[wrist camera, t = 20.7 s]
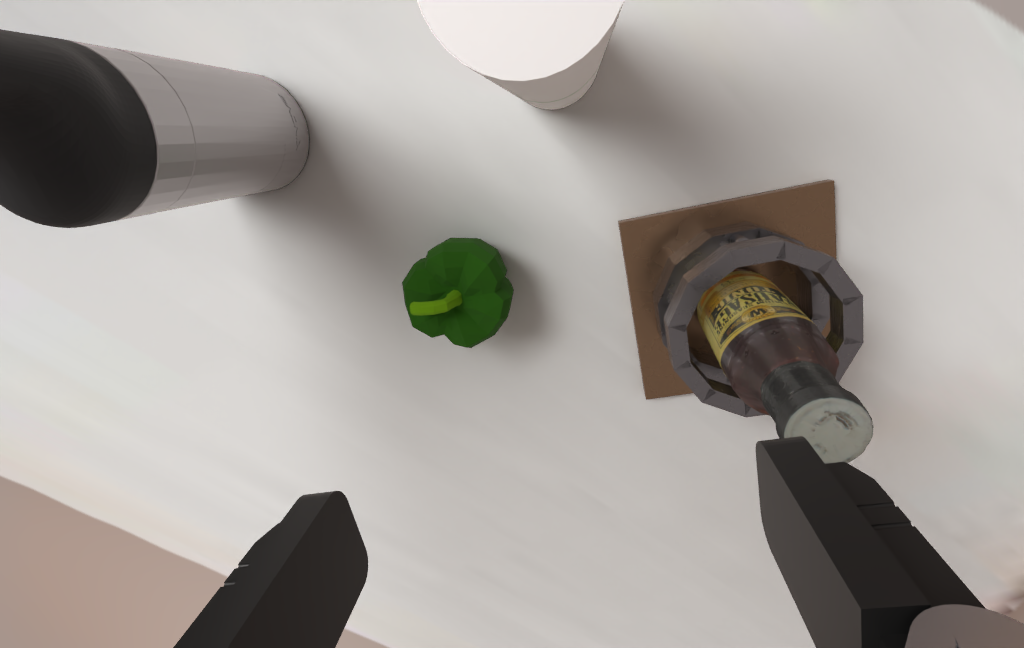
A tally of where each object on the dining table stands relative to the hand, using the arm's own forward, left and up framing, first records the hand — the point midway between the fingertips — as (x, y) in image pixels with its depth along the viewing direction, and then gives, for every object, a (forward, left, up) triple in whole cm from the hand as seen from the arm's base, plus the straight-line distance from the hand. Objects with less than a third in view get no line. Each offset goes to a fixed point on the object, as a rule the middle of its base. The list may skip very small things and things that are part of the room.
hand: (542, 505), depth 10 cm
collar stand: (+12, -9, -36) cm, 39 cm away
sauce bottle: (+12, -9, -35) cm, 38 cm away
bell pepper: (-9, -3, -36) cm, 38 cm away
